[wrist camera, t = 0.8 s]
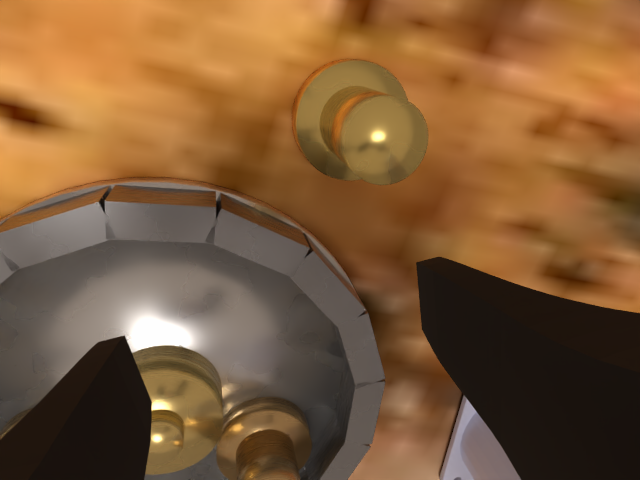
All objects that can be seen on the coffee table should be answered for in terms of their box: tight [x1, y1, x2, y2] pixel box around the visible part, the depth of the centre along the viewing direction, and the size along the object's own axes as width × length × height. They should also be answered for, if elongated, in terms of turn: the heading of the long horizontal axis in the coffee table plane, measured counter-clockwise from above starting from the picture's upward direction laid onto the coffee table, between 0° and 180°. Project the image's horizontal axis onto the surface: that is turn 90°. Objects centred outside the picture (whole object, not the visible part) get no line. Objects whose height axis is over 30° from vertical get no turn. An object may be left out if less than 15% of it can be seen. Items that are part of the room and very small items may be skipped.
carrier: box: [0, 177, 385, 480], centre depth 20 cm, size 20×20×6 cm
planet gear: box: [292, 59, 428, 185], centre depth 17 cm, size 5×5×5 cm
